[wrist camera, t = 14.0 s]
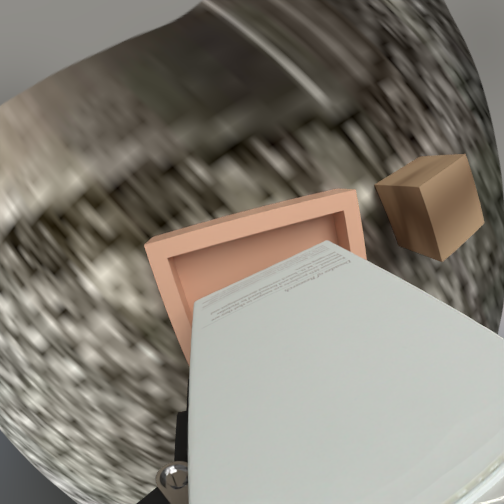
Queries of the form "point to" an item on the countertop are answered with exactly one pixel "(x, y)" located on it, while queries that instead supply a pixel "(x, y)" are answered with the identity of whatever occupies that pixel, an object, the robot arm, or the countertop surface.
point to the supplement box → (340, 390)
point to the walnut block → (432, 204)
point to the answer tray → (246, 248)
